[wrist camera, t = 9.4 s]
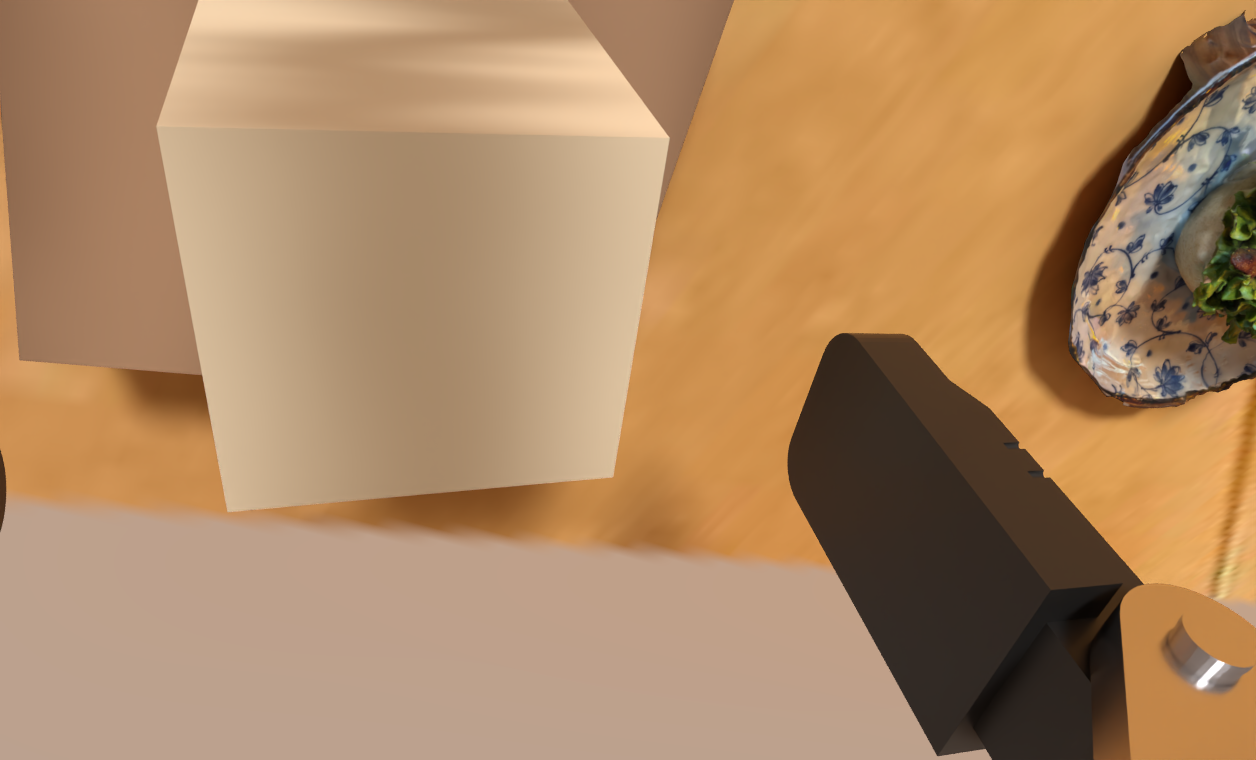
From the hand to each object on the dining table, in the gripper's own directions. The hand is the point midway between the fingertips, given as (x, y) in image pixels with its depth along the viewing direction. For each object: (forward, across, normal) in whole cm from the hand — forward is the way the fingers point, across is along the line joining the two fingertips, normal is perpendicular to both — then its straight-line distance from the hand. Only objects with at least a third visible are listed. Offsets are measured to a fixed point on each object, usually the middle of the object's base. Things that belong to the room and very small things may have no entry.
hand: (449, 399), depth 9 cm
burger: (+11, -23, +2) cm, 25 cm away
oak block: (+7, 0, 0) cm, 7 cm away
